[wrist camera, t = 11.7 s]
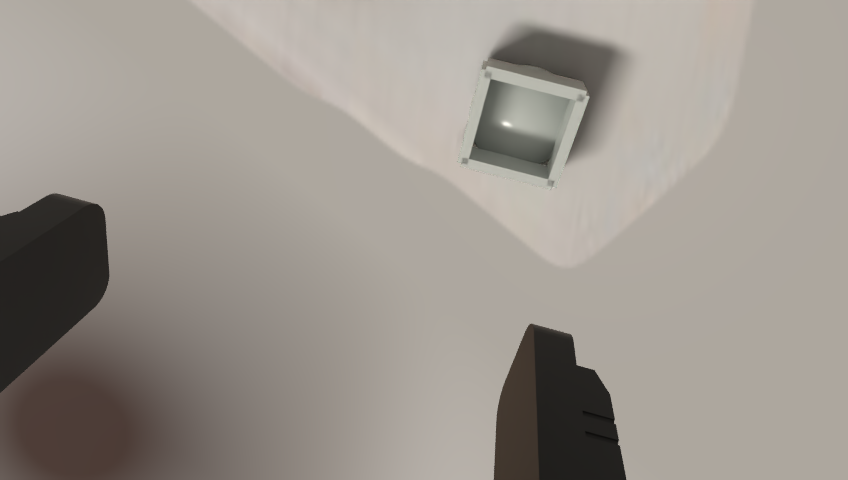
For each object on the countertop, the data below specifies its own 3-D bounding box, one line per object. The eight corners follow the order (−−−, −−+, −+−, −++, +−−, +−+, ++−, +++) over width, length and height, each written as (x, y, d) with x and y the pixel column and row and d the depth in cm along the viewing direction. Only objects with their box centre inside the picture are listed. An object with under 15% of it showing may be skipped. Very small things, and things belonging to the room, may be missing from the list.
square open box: (484, 52, 43) (481, 63, 40) (588, 79, 43) (593, 91, 40) (459, 150, 47) (454, 166, 44) (553, 174, 47) (555, 192, 44)
